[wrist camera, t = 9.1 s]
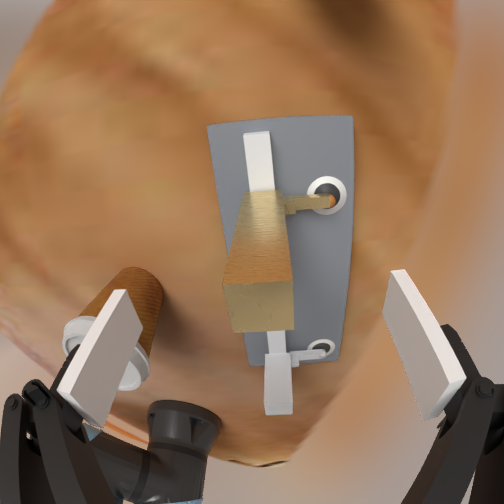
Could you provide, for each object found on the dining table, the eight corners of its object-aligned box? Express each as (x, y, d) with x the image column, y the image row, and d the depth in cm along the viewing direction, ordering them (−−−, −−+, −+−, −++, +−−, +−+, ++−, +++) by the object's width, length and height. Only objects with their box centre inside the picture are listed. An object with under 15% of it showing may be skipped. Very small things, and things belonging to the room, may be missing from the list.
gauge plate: (336, 352, 37) (347, 413, 28) (250, 357, 38) (245, 420, 29) (347, 114, 22) (395, 128, 13) (210, 124, 23) (175, 142, 14)
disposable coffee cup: (103, 247, 30) (47, 316, 20) (179, 265, 30) (143, 350, 20) (109, 306, 35) (71, 374, 24) (174, 324, 35) (149, 402, 25)
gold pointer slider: (333, 214, 24) (381, 320, 13) (248, 220, 25) (233, 332, 14) (333, 181, 23) (392, 271, 11) (244, 187, 24) (222, 284, 12)
